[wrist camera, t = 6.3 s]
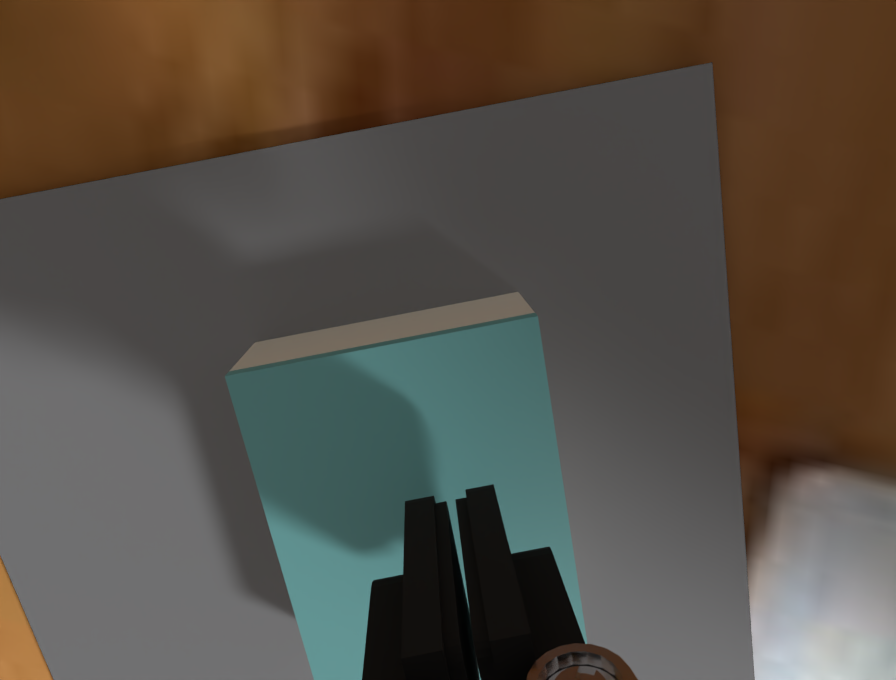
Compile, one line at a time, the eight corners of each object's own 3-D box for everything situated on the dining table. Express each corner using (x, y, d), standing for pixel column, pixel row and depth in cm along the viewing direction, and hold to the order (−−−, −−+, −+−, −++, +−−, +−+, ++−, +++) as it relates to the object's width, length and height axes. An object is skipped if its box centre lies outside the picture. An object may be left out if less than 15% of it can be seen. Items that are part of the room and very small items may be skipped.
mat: (703, 65, 14) (711, 62, 13) (747, 672, 18) (754, 683, 18) (-125, 224, 14) (-140, 226, 13) (115, 794, 18) (108, 807, 18)
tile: (537, 316, 12) (224, 376, 12) (590, 662, 14) (324, 713, 14) (518, 291, 14) (254, 342, 14) (565, 592, 17) (336, 637, 17)
